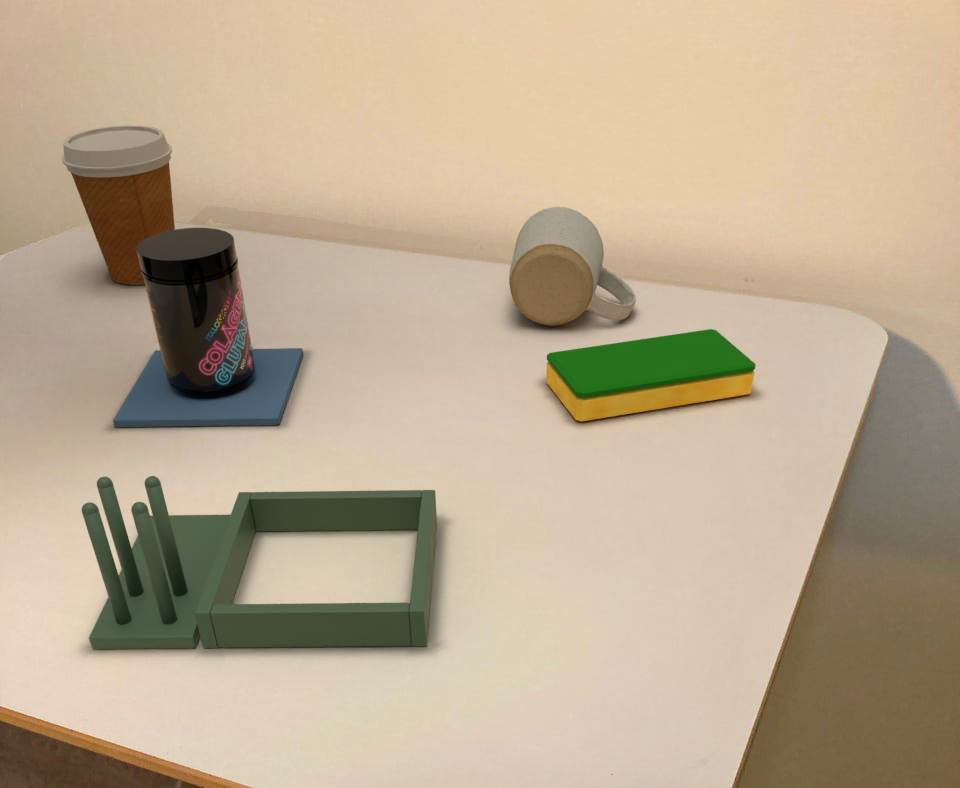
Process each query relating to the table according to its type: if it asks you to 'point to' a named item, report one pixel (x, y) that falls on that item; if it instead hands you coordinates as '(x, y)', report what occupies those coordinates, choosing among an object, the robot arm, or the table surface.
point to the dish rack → (220, 561)
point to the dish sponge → (648, 374)
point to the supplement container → (198, 310)
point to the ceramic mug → (564, 270)
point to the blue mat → (249, 406)
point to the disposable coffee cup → (122, 190)
